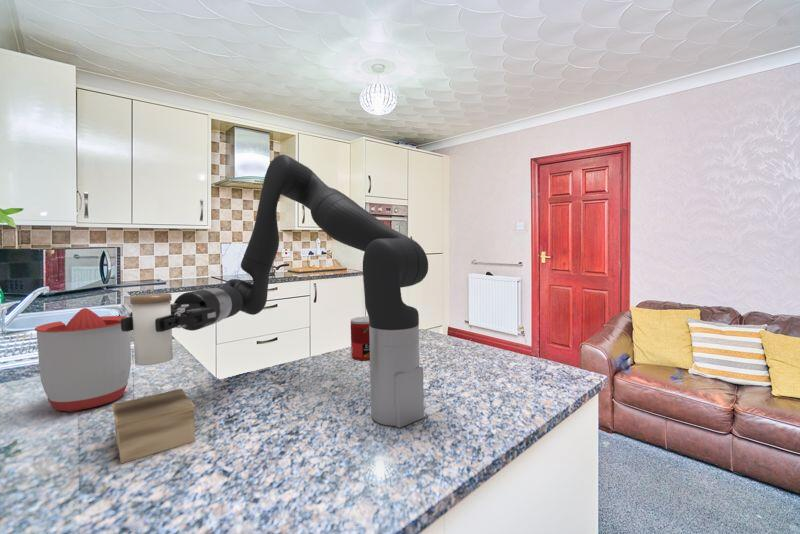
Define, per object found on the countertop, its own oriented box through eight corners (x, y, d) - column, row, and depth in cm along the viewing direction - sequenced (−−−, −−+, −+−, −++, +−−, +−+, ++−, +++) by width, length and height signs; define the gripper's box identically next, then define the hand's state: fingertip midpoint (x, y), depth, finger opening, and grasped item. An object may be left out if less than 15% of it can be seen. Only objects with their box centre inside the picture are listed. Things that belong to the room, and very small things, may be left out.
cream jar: (177, 360, 64) (174, 295, 64) (135, 368, 61) (131, 298, 60) (171, 353, 69) (168, 292, 68) (131, 360, 65) (128, 295, 64)
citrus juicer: (120, 381, 94) (115, 300, 93) (145, 398, 83) (140, 306, 82) (32, 402, 82) (25, 309, 81) (48, 425, 71) (40, 317, 70)
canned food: (366, 362, 106) (365, 322, 105) (345, 357, 111) (344, 319, 110) (383, 355, 112) (383, 318, 112) (363, 351, 117) (362, 315, 116)
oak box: (196, 441, 64) (194, 405, 64) (119, 464, 57) (117, 425, 57) (183, 420, 72) (181, 388, 72) (114, 438, 65) (112, 404, 65)
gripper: (170, 289, 79) (97, 302, 62) (236, 289, 78) (180, 302, 61) (172, 325, 79) (100, 348, 63) (238, 326, 78) (183, 349, 61)
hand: (140, 325), depth 62 cm, fingers closed on cream jar, 5 cm apart
